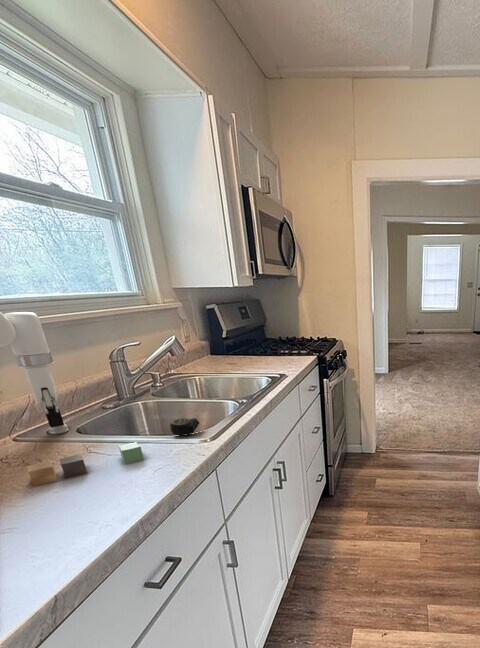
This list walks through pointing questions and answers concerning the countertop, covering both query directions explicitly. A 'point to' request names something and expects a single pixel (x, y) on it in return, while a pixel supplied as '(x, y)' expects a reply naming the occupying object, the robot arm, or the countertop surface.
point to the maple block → (42, 473)
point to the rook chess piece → (58, 429)
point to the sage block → (131, 452)
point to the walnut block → (73, 466)
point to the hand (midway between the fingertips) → (56, 423)
